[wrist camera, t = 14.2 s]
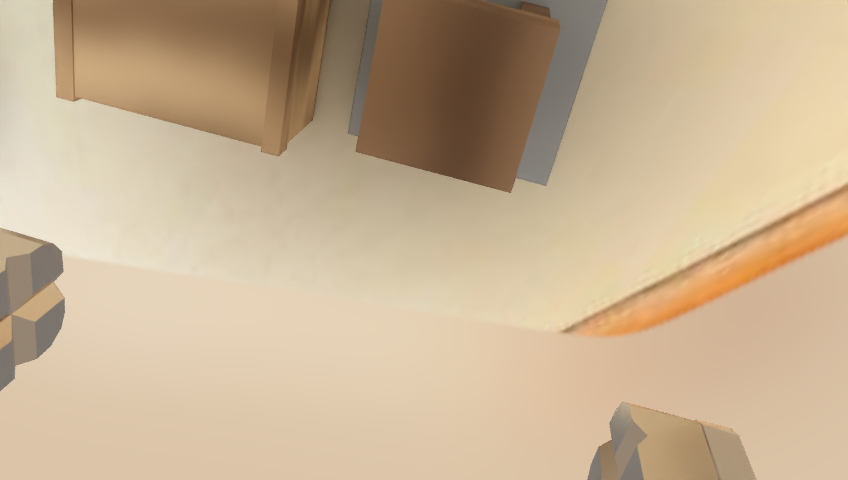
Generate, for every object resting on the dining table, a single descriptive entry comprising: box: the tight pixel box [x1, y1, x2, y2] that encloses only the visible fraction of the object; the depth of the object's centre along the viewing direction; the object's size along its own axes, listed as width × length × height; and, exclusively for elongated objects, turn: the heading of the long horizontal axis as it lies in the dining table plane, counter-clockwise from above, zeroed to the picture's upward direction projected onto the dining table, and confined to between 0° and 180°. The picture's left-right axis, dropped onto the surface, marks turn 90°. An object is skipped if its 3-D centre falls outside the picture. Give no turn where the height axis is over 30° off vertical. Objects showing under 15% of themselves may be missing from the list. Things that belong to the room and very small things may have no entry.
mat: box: [348, 0, 607, 186], centre depth 30 cm, size 10×10×1 cm
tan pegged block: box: [356, 0, 560, 193], centre depth 27 cm, size 6×6×8 cm
